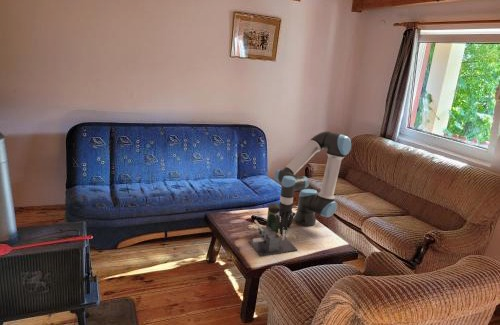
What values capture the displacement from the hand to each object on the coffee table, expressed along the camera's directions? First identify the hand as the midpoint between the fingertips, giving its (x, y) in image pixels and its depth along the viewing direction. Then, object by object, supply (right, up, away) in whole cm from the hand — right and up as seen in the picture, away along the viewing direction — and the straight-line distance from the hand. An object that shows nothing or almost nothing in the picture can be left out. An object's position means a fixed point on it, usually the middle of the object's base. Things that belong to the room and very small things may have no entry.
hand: (282, 238), depth 212 cm
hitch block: (-6, -4, -1) cm, 7 cm away
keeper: (-14, +8, -9) cm, 18 cm away
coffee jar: (-5, +1, +17) cm, 18 cm away
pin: (-11, -2, -4) cm, 12 cm away
